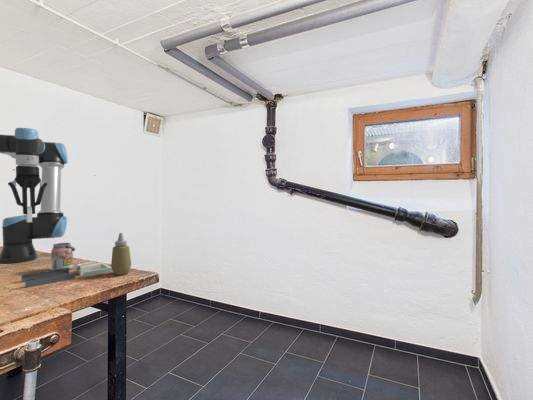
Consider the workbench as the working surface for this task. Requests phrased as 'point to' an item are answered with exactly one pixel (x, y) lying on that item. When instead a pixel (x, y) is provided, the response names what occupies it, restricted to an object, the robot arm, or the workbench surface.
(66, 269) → the chute
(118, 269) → the squeeze bottle
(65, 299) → the workbench surface
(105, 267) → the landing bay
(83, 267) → the block
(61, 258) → the beverage can
